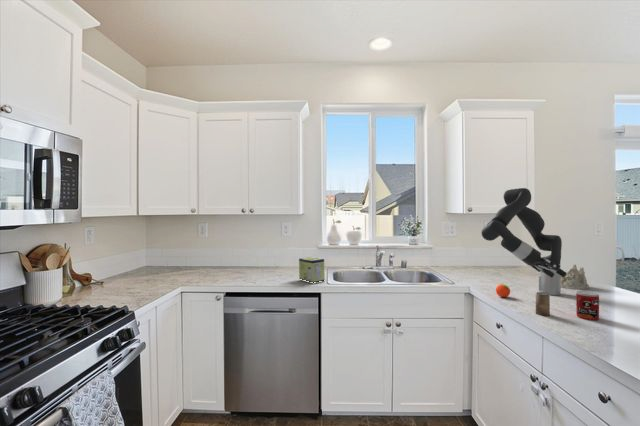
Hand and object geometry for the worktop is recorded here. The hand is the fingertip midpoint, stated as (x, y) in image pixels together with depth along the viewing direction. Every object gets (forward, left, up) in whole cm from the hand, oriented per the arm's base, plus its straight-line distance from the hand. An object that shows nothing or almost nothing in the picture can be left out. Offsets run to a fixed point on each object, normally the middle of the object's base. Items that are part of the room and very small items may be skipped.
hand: (558, 275), depth 140 cm
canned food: (+6, +11, -19) cm, 23 cm away
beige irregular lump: (-28, +70, -19) cm, 77 cm away
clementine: (-32, +11, -19) cm, 39 cm away
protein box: (-121, -63, -19) cm, 138 cm away
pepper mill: (-6, -1, -19) cm, 20 cm away
